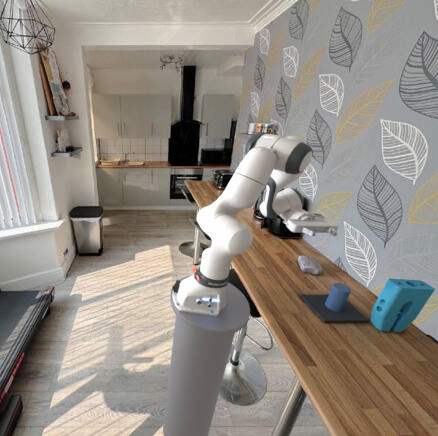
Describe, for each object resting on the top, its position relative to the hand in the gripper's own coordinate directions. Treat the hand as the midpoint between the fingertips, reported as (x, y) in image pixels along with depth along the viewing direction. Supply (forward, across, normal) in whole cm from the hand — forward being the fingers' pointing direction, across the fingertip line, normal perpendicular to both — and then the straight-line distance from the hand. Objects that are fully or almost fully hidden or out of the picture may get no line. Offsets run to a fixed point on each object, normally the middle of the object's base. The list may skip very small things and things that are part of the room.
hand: (324, 234), depth 96 cm
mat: (+12, +4, +28) cm, 31 cm away
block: (+21, +18, +28) cm, 40 cm away
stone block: (-16, +14, +28) cm, 35 cm away
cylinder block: (+12, +4, +27) cm, 30 cm away
